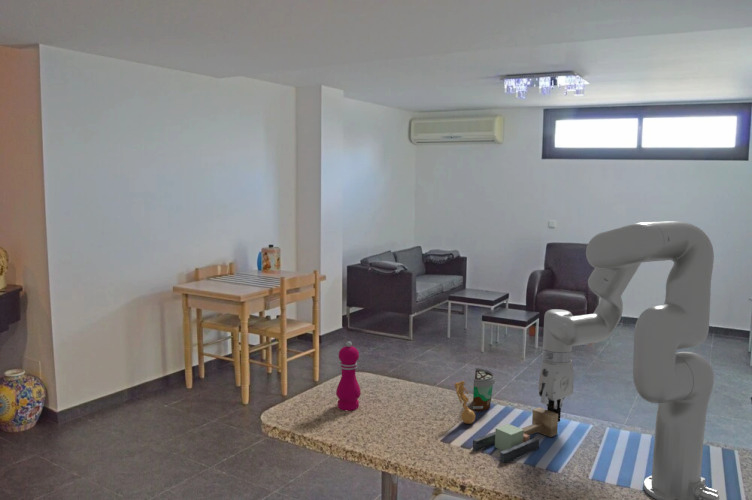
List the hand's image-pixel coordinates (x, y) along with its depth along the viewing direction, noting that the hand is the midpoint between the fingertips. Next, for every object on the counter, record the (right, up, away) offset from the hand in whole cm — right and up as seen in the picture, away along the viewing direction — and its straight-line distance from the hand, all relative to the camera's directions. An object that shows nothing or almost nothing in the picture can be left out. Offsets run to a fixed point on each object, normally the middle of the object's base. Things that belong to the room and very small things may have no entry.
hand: (553, 420), depth 169 cm
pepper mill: (-57, 0, +15) cm, 59 cm away
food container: (-16, -1, +17) cm, 23 cm away
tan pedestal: (-7, -3, -6) cm, 10 cm away
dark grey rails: (-16, -4, -12) cm, 20 cm away
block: (-15, -4, -12) cm, 19 cm away
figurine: (-24, -2, +4) cm, 24 cm away
